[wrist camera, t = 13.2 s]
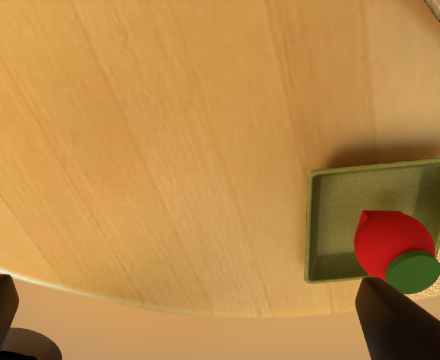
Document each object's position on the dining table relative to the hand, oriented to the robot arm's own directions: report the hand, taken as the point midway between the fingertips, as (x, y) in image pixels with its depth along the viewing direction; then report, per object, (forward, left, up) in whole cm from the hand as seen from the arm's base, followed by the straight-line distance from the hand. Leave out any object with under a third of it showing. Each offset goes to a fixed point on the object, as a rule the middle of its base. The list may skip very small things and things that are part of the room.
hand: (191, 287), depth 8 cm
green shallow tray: (-5, -11, -12) cm, 17 cm away
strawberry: (-5, -11, -10) cm, 16 cm away
